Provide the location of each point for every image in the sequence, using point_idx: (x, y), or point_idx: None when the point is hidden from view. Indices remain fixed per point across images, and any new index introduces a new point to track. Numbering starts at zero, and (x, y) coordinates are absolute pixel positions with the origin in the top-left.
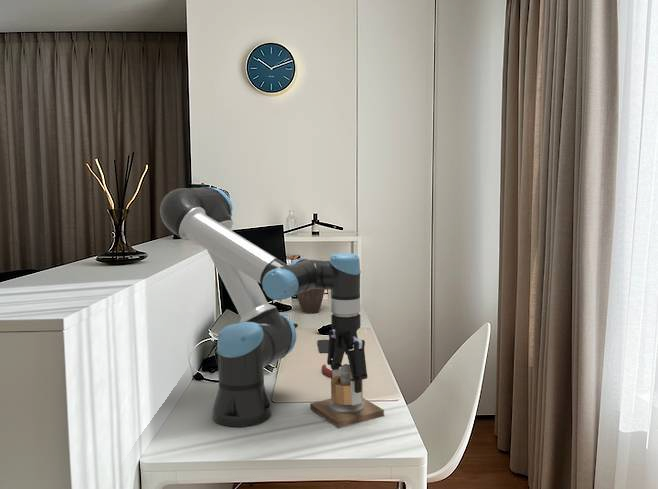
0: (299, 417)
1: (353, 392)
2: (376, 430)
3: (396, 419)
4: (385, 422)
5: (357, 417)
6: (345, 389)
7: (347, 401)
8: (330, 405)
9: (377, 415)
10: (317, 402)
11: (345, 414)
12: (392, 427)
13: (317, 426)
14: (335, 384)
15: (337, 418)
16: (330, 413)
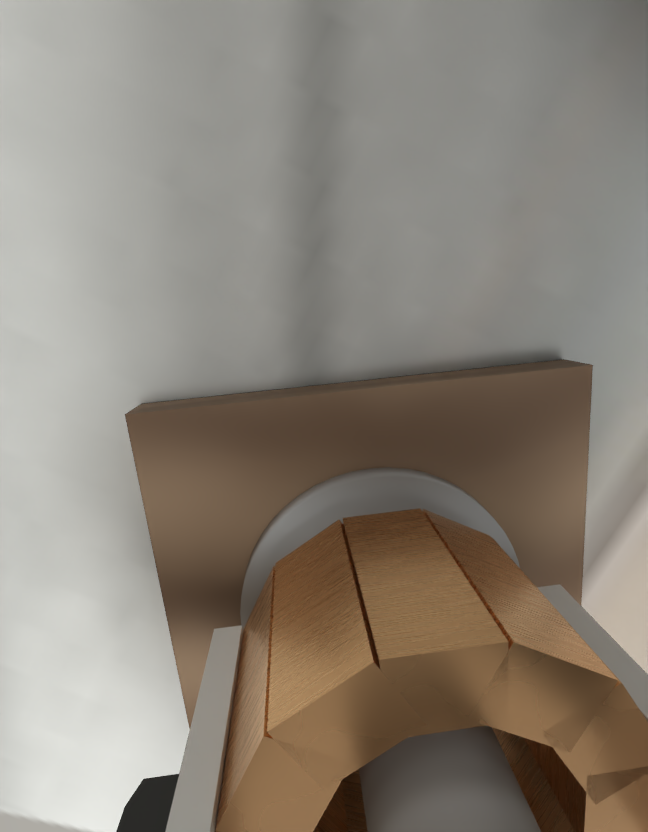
0: (464, 205)
1: (188, 755)
2: (5, 620)
3: (123, 785)
4: (105, 715)
5: (162, 586)
6: (252, 713)
7: (256, 618)
8: (417, 483)
9: None
10: (576, 428)
11: (242, 529)
12: (16, 721)
13: (234, 269)
14: (388, 664)
15: (197, 441)
16: (317, 431)
